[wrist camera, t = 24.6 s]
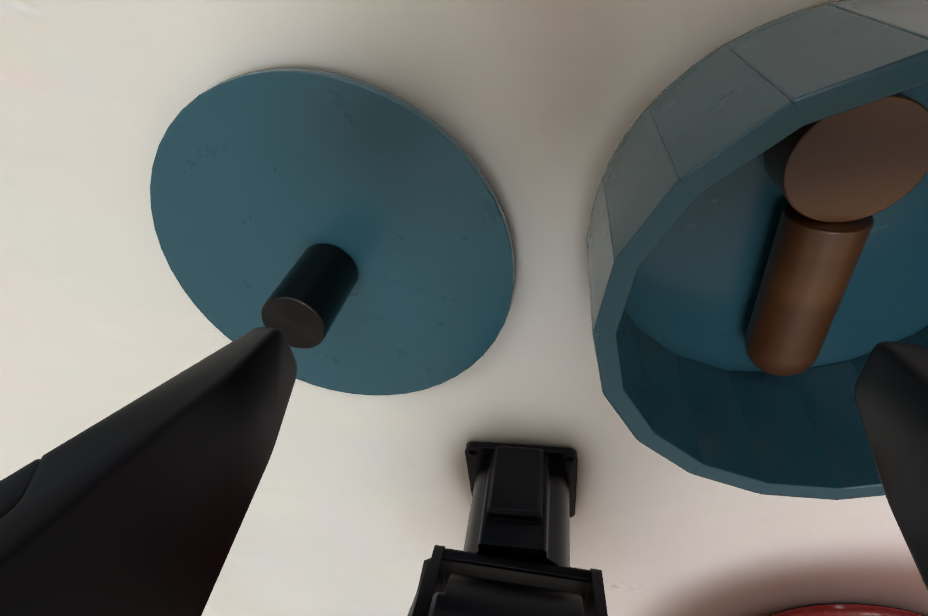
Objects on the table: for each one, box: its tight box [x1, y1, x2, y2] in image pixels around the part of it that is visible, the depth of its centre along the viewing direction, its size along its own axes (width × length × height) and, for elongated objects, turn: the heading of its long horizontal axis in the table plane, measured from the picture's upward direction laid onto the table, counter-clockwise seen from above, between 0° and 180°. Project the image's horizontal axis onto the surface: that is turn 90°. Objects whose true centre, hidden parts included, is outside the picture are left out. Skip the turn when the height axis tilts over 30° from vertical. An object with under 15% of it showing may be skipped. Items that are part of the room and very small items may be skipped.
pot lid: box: [150, 68, 515, 395], centre depth 22 cm, size 16×16×5 cm
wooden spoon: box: [745, 92, 928, 376], centre depth 18 cm, size 11×4×3 cm, turn 6°
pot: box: [587, 0, 928, 500], centre depth 17 cm, size 15×16×6 cm
